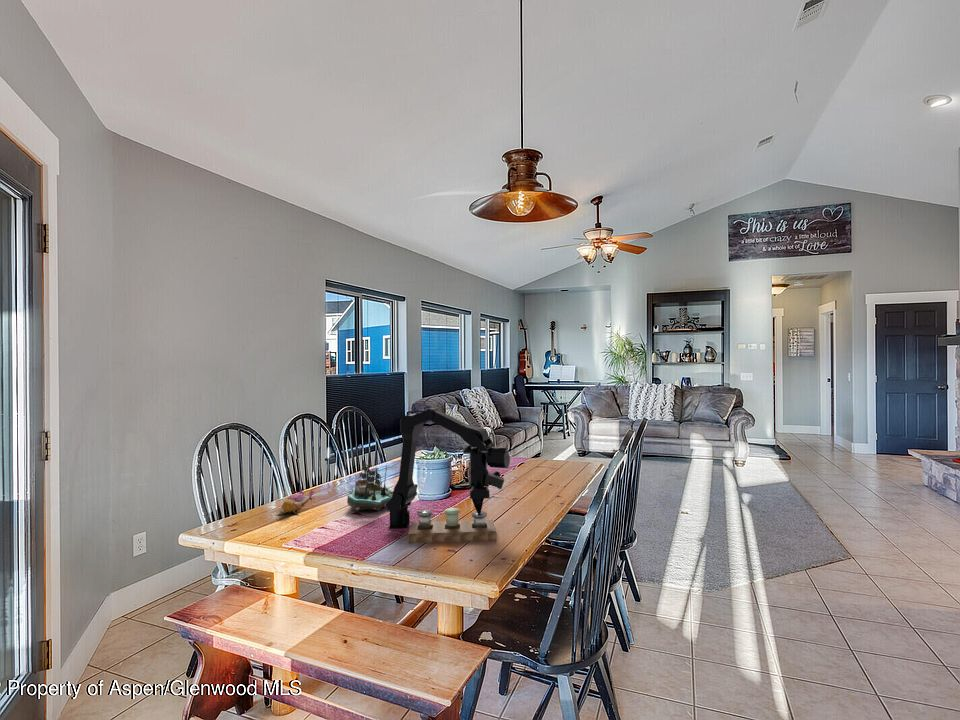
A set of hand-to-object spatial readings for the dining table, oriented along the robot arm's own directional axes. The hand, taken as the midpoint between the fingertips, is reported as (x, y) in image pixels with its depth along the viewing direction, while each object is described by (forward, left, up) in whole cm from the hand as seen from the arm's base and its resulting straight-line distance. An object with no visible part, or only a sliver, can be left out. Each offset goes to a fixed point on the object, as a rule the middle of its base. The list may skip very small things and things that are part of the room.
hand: (479, 513), depth 176 cm
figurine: (-72, +40, -8) cm, 83 cm away
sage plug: (-9, 0, -3) cm, 10 cm away
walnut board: (-9, 0, -7) cm, 11 cm away
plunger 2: (0, 0, -5) cm, 5 cm away
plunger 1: (-18, 0, -4) cm, 18 cm away
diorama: (-41, +38, -8) cm, 57 cm away
